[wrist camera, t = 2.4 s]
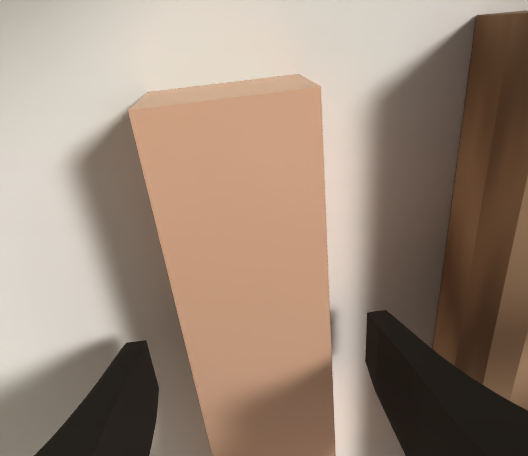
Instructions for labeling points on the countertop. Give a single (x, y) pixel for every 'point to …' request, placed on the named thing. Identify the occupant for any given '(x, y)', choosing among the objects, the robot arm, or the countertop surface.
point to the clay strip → (246, 255)
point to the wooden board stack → (490, 217)
